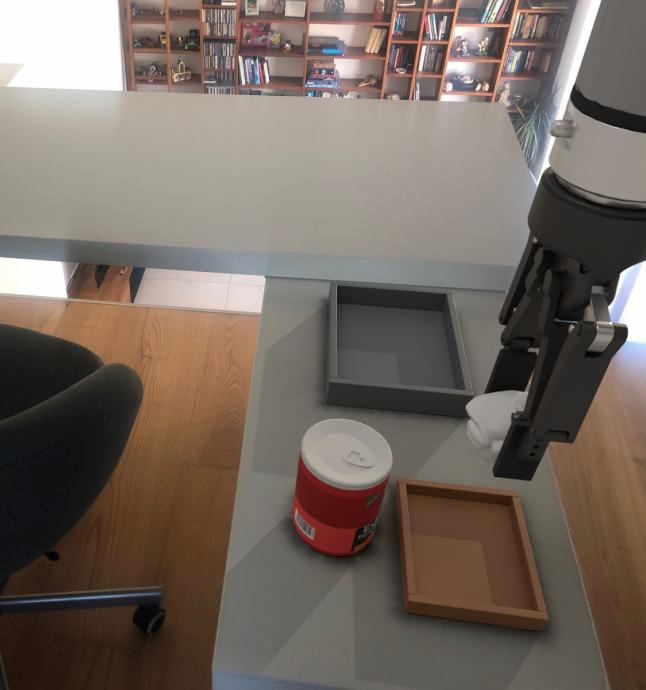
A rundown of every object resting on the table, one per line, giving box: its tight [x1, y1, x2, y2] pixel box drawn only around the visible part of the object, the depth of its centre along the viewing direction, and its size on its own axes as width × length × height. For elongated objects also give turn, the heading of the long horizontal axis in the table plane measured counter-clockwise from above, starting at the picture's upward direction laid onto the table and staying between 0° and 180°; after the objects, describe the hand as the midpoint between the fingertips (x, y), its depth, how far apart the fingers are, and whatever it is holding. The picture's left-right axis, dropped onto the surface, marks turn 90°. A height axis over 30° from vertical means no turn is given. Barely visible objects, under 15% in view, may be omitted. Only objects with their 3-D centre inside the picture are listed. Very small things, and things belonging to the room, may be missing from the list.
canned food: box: [291, 418, 394, 557], centre depth 64 cm, size 8×8×11 cm
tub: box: [325, 281, 475, 419], centre depth 85 cm, size 20×16×4 cm
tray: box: [394, 477, 550, 632], centre depth 64 cm, size 13×11×2 cm
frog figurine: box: [466, 390, 554, 466], centre depth 55 cm, size 6×7×7 cm
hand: (503, 441), depth 56 cm, fingers closed on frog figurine, 6 cm apart
